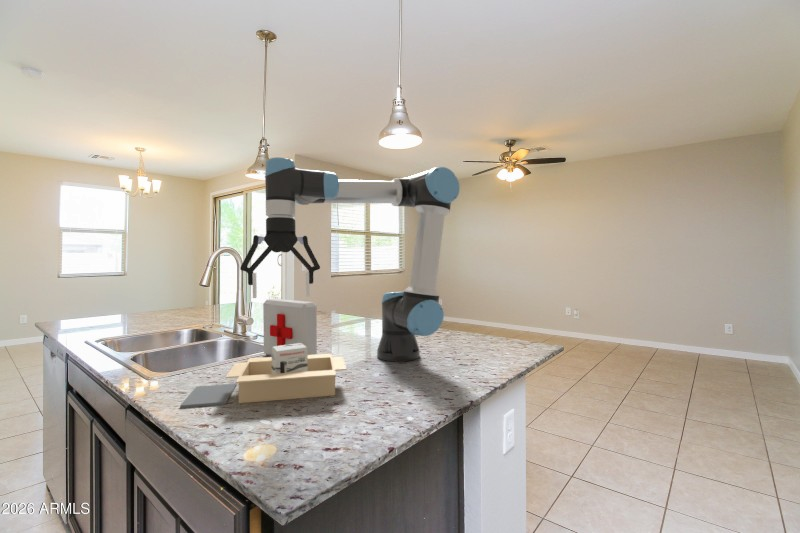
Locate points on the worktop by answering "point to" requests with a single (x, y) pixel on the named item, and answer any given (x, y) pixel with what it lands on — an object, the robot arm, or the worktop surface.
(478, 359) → the worktop surface
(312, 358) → the carton
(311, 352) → the bevelled white case
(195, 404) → the mat
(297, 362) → the ink box
